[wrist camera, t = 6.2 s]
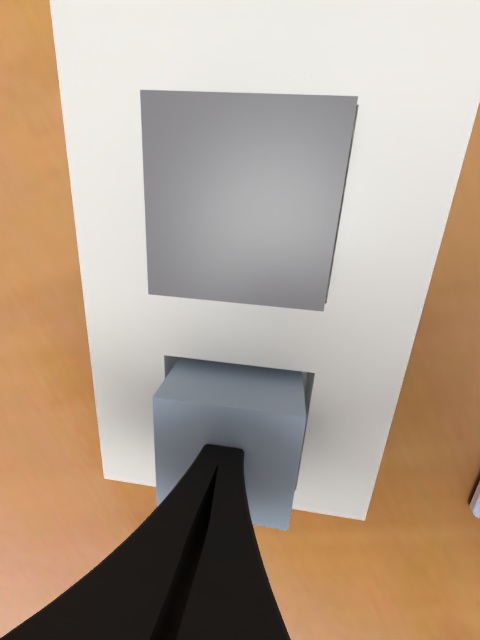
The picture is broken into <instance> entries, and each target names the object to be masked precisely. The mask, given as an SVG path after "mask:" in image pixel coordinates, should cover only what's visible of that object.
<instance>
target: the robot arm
mask: <svg viewBox="0 0 480 640" xmlns="http://www.w3.org/2000/svg"><path fill="white" fill-rule="evenodd" d="M244 453H245V452H244V451H243V450H242V449H240V448H233V447H226V446H219V445H212V444H206V445H204V446H203V448H202V449H201V451H200V452H199V454H198V456H197V457H196V459H195V460H194V462H193V463H192V464H191V466H190V467H189V469H188V470H187V471H186V473H185V474H184V475H183V477H182V478H181V479H180V480H179V482H178V483H177V484H176V485H175V487H174V488H173V489H172V490H171V492H170V493H169V494H168V495H167V496H166V498H165V499H164V500H163V501H162V502H161V503H160V504H159V506H158V507H157V508H156V509H155V510H154V511H153V512H152V513H151V515H150V516H149V517H148V518H147V519H146V520H145V521H144V522H143V523H142V524H141V525H140V526H139V527H138V528H137V529H136V530H135V531H134V532H133V533H132V534H131V535H130V536H129V537H128V538H127V539H126V540H125V541H124V542H123V543H122V544H121V545H120V546H118V547H117V548H116V549H115V550H114V551H113V552H112V553H111V554H110V555H109V556H107V557H106V558H105V559H104V560H103V561H102V562H101V563H100V564H98V565H97V566H96V567H95V568H94V569H93V570H91V571H90V572H89V573H88V574H87V575H85V576H84V577H83V578H81V579H80V580H79V581H78V582H76V583H75V584H74V585H73V586H71V587H70V588H69V589H68V590H66V591H65V592H64V593H63V594H61V595H60V596H59V597H57V598H56V599H55V600H54V601H52V602H51V603H50V604H48V605H47V606H46V607H44V608H43V609H41V610H40V611H39V612H37V613H36V614H34V615H33V616H32V617H30V618H29V619H27V620H26V621H24V622H23V623H22V624H20V625H19V626H17V627H16V628H14V629H13V630H12V631H10V632H9V633H7V634H6V635H4V636H3V637H2V638H0V640H291V639H290V637H289V634H288V632H287V629H286V627H285V624H284V621H283V619H282V616H281V613H280V611H279V608H278V605H277V603H276V600H275V598H274V595H273V592H272V589H271V586H270V583H269V580H268V577H267V574H266V571H265V568H264V565H263V561H262V558H261V555H260V551H259V548H258V544H257V540H256V537H255V533H254V528H253V524H252V520H251V515H250V511H249V505H248V499H247V494H246V487H245V478H244ZM470 509H471V511H472V513H473V514H474V516H476V517H477V518H480V482H479V484H478V486H477V489H476V491H475V493H474V496H473V498H472V501H471V503H470Z"/></svg>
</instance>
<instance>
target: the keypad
mask: <svg viewBox="0 0 480 640" xmlns="http://www.w3.org/2000/svg"><path fill="white" fill-rule="evenodd" d="M50 7H51V16H52V25H53V33H54V42H55V51H56V60H57V69H58V77H59V86H60V95H61V104H62V112H63V121H64V130H65V139H66V147H67V156H68V165H69V174H70V183H71V191H72V200H73V209H74V218H75V226H76V235H77V244H78V253H79V262H80V270H81V279H82V288H83V297H84V305H85V314H86V323H87V332H88V341H89V349H90V358H91V367H92V376H93V384H94V393H95V402H96V411H97V419H98V428H99V437H100V446H101V455H102V463H103V472H104V478H105V479H111V480H117V481H124V482H130V483H136V484H142V485H148V486H155V487H156V472H155V448H154V423H153V398H152V397H153V396H154V394H155V393H156V391H157V390H158V388H159V387H160V385H161V384H162V383H163V381H164V380H165V378H166V377H167V375H168V374H169V372H170V371H171V369H172V368H173V367H174V365H175V364H176V362H177V361H178V359H179V358H180V357H183V358H192V359H200V360H209V361H217V362H226V363H234V364H243V365H251V366H260V367H268V368H276V369H285V370H293V371H302V378H303V388H304V397H305V407H306V417H307V418H306V424H305V430H304V436H303V442H302V449H301V455H300V461H299V467H298V474H297V480H296V486H295V492H294V499H293V505H292V509H296V510H303V511H309V512H315V513H321V514H327V515H333V516H340V517H346V518H352V519H358V520H364V521H365V518H366V514H367V510H368V507H369V503H370V499H371V496H372V492H373V488H374V485H375V481H376V477H377V474H378V470H379V466H380V463H381V459H382V455H383V452H384V448H385V445H386V441H387V437H388V434H389V430H390V426H391V423H392V419H393V415H394V412H395V408H396V404H397V401H398V397H399V393H400V390H401V386H402V383H403V379H404V375H405V372H406V368H407V364H408V361H409V357H410V353H411V350H412V346H413V342H414V339H415V335H416V331H417V328H418V324H419V320H420V317H421V313H422V310H423V306H424V302H425V299H426V295H427V291H428V288H429V284H430V280H431V277H432V273H433V269H434V266H435V262H436V258H437V255H438V251H439V247H440V244H441V240H442V237H443V233H444V229H445V226H446V222H447V218H448V215H449V211H450V207H451V204H452V200H453V196H454V193H455V189H456V185H457V182H458V178H459V175H460V171H461V167H462V164H463V160H464V156H465V153H466V149H467V145H468V142H469V138H470V134H471V131H472V127H473V123H474V120H475V116H476V112H477V109H478V105H479V102H480V0H50ZM140 90H166V91H200V92H233V93H267V94H301V95H334V96H358V100H357V106H356V113H355V119H354V125H353V131H352V138H351V144H350V150H349V156H348V162H347V169H346V175H345V181H344V187H343V194H342V200H341V206H340V212H339V218H338V225H337V231H336V237H335V243H334V250H333V256H332V262H331V268H330V274H329V281H328V287H327V293H326V299H325V306H324V312H323V311H313V310H303V309H293V308H283V307H273V306H262V305H252V304H242V303H232V302H222V301H211V300H201V299H191V298H181V297H171V296H160V295H150V294H148V275H147V250H146V225H145V200H144V176H143V151H142V126H141V102H140Z"/></svg>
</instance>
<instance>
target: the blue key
mask: <svg viewBox="0 0 480 640" xmlns="http://www.w3.org/2000/svg"><path fill="white" fill-rule="evenodd" d="M152 398H153V423H154V448H155V472H156V497H157V507H158V506H159V504H160V503H161V502H162V501H163V500H164V499H165V498H166V496H167V495H168V494H169V493H170V492H171V490H172V489H173V488H174V487H175V485H176V484H177V483H178V482H179V480H180V479H181V478H182V477H183V475H184V474H185V473H186V471H187V470H188V469H189V467H190V466H191V464H192V463H193V462H194V460H195V459H196V457H197V456H198V454H199V452H200V451H201V449H202V448H203V446H204V445H206V444H212V445H219V446H226V447H233V448H240V449H242V450H243V451H244V452H245V453H244V478H245V487H246V494H247V499H248V505H249V511H250V515H251V520H252V524H253V525H258V526H264V527H269V528H275V529H281V530H287V531H288V530H289V523H290V517H291V511H292V505H293V499H294V492H295V486H296V480H297V474H298V467H299V461H300V455H301V449H302V442H303V436H304V430H305V424H306V418H307V417H306V407H305V397H304V388H303V378H302V371H293V370H285V369H276V368H268V367H260V366H251V365H243V364H234V363H226V362H217V361H209V360H200V359H192V358H183V357H180V358H179V359H178V361H177V362H176V364H175V365H174V367H173V368H172V369H171V371H170V372H169V374H168V375H167V377H166V378H165V380H164V381H163V383H162V384H161V385H160V387H159V388H158V390H157V391H156V393H155V394H154V396H153V397H152Z"/></svg>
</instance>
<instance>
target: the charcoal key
mask: <svg viewBox="0 0 480 640" xmlns="http://www.w3.org/2000/svg"><path fill="white" fill-rule="evenodd" d="M357 100H358V96H334V95H301V94H267V93H233V92H200V91H166V90H140V102H141V126H142V151H143V176H144V200H145V225H146V250H147V275H148V294H150V295H160V296H171V297H181V298H191V299H201V300H211V301H222V302H232V303H242V304H252V305H262V306H273V307H283V308H293V309H303V310H313V311H323V312H324V306H325V299H326V293H327V287H328V281H329V274H330V268H331V262H332V256H333V250H334V243H335V237H336V231H337V225H338V218H339V212H340V206H341V200H342V194H343V187H344V181H345V175H346V169H347V162H348V156H349V150H350V144H351V138H352V131H353V125H354V119H355V113H356V106H357Z"/></svg>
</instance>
